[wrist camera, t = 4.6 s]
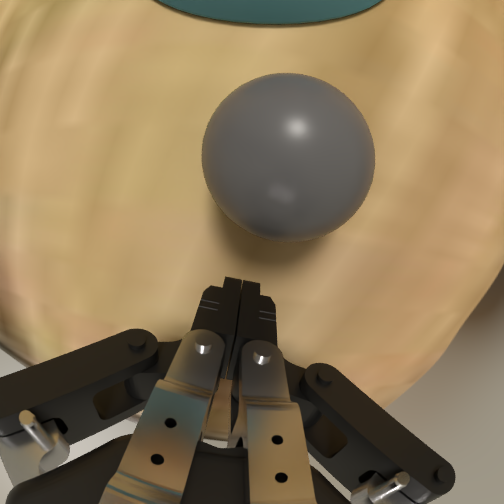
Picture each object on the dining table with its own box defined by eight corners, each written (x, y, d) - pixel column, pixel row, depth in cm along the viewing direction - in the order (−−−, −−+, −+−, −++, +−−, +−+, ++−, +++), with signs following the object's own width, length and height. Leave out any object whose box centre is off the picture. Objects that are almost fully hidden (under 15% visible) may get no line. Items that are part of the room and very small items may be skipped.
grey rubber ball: (138, 194, 7) (204, 106, 10) (262, 288, 10) (286, 188, 13) (294, 67, 4) (310, 29, 7) (412, 251, 7) (389, 142, 10)
